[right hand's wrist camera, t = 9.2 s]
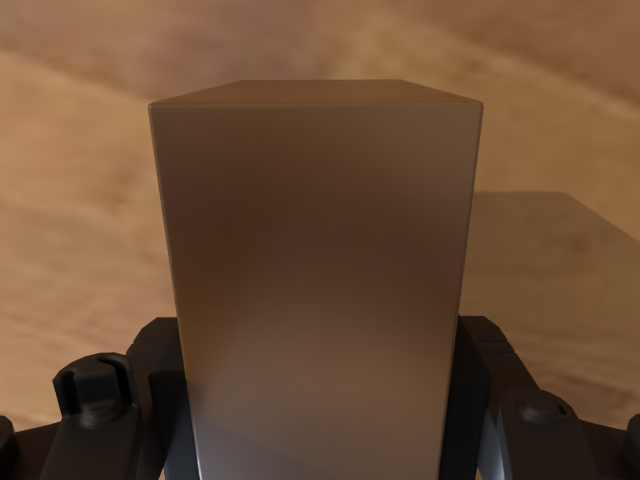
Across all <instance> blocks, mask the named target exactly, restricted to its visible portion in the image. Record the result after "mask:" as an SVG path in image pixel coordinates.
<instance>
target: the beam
mask: <svg viewBox="0 0 640 480" xmlns="http://www.w3.org/2000/svg"><path fill="white" fill-rule="evenodd" d="M483 108H484V107H483V103H482V102H480V101H477V100H473V99H470V98H466V97H462V96H459V95H455V94H452V93H448V92H444V91H441V90H437V89H433V88H430V87H426V86H422V85H419V84H415V83H411V82H408V81H404V80H241V81H237V82H233V83H229V84H225V85H221V86H217V87H213V88H209V89H205V90H201V91H197V92H193V93H189V94H185V95H181V96H177V97H173V98H169V99H165V100H161V101H157V102H153V103H151V104H149V106H148V113H149V121H150V128H151V135H152V142H153V149H154V156H155V163H156V170H157V177H158V185H159V192H160V199H161V206H162V213H163V220H164V227H165V234H166V241H167V249H168V256H169V263H170V270H171V277H172V284H173V291H174V298H175V305H176V313H177V320H178V327H179V334H180V341H181V348H182V355H183V362H184V369H185V377H186V384H187V391H188V398H189V405H190V412H191V419H192V426H193V433H194V440H195V448H196V455H197V462H198V469H199V476H200V480H438V477H439V469H440V460H441V452H442V444H443V436H444V428H445V419H446V411H447V403H448V395H449V387H450V378H451V370H452V362H453V354H454V346H455V337H456V329H457V321H458V313H459V305H460V296H461V288H462V280H463V272H464V264H465V255H466V247H467V239H468V231H469V223H470V214H471V206H472V198H473V190H474V182H475V173H476V165H477V157H478V149H479V140H480V132H481V124H482V116H483Z"/></svg>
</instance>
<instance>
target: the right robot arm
mask: <svg viewBox="0 0 640 480" xmlns="http://www.w3.org/2000/svg"><path fill="white" fill-rule="evenodd" d="M52 381H53V385H54V388H55V392H56V396H57V400H58V403H59V407H60V411H61V414H62V420H61V421H60V422H57V423H53V424H50V425H46V426H42V427H37V428H33V429H28V430H24V431H20V432H15V431H14V428H13V425H12V422H11V421H10V420H9V419H8V418H6V417H5V416H1V415H0V480H159V477H160V474H161V472H162V469H164V474H165V480H200V476H199V469H198V462H197V455H196V448H195V440H194V433H193V426H192V419H191V412H190V405H189V398H188V391H187V384H186V377H185V369H184V362H183V355H182V348H181V341H180V334H179V327H178V320H177V317H157V318H156V319H154V320H153V321H152V322H150V323H149V324H147V325H146V326H145V327H143V328H142V329H141V331H140V332H139V334H138V335H137V337H136V338H135V340H134V341H133V344H131V346H130V347H129V349H128V350H127V352H126V355H122V354H119V353H115V352H112V353H98V354H93V355H89V356H85V357H83V358H81V359H78V360H76V361H74V362H71V363H70V364H69V365H67V366H66V367H64V368H63V369H62V370H60V371H59V372H58V374H57V375H56V376H55V378H54V379H53V380H52ZM477 466H478V468H479V471H480V474H481V476H482V479H483V480H640V414H636V415H635V416H634V417H633V418H631V419H630V420H629V423H628V426H627V429H626V431H625V430H620V429H616V428H611V427H607V426H603V425H598V424H594V423H590V422H587V421H583V420H580V419H578V417H577V415H576V413H575V412H574V410H573V409H572V407H571V406H569V405H568V404H567V403H566V402H565V401H563V400H562V399H561V398H559V397H557V396H555V395H553V394H551V393H549V392H547V391H544V390H540V389H539V387H538V386H537V384H536V383H535V381H534V379H533V378H532V376H531V375H530V373H529V372H528V370H527V369H526V367H525V366H524V364H523V363H522V361H521V360H520V358H519V357H518V355H517V354H516V353H515V352H514V349H513V348H512V346H511V345H510V343H508V342H507V339H506V337H505V336H504V334H503V333H502V331H501V330H500V328H499V327H498V326H497V325H495V324H494V323H492V322H491V321H490V320H488V319H487V318H486V317H484V316H459V314H458V321H457V329H456V337H455V346H454V354H453V362H452V370H451V378H450V387H449V395H448V403H447V411H446V419H445V428H444V436H443V444H442V452H441V460H440V469H439V477H438V480H475V477H476V471H477Z"/></svg>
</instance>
